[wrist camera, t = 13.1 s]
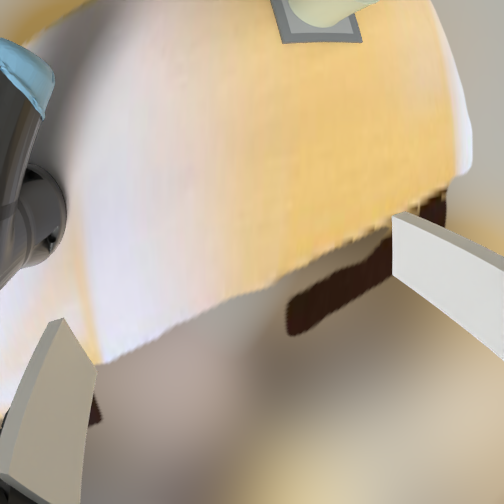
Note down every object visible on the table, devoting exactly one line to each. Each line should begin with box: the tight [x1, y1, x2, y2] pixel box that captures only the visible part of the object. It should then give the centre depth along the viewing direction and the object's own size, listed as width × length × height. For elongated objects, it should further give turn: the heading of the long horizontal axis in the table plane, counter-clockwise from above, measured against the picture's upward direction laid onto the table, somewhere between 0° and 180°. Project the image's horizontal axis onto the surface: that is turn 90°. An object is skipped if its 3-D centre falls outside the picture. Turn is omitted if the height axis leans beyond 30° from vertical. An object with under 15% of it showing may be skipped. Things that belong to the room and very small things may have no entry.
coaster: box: [270, 0, 363, 44], centre depth 32 cm, size 14×14×1 cm
